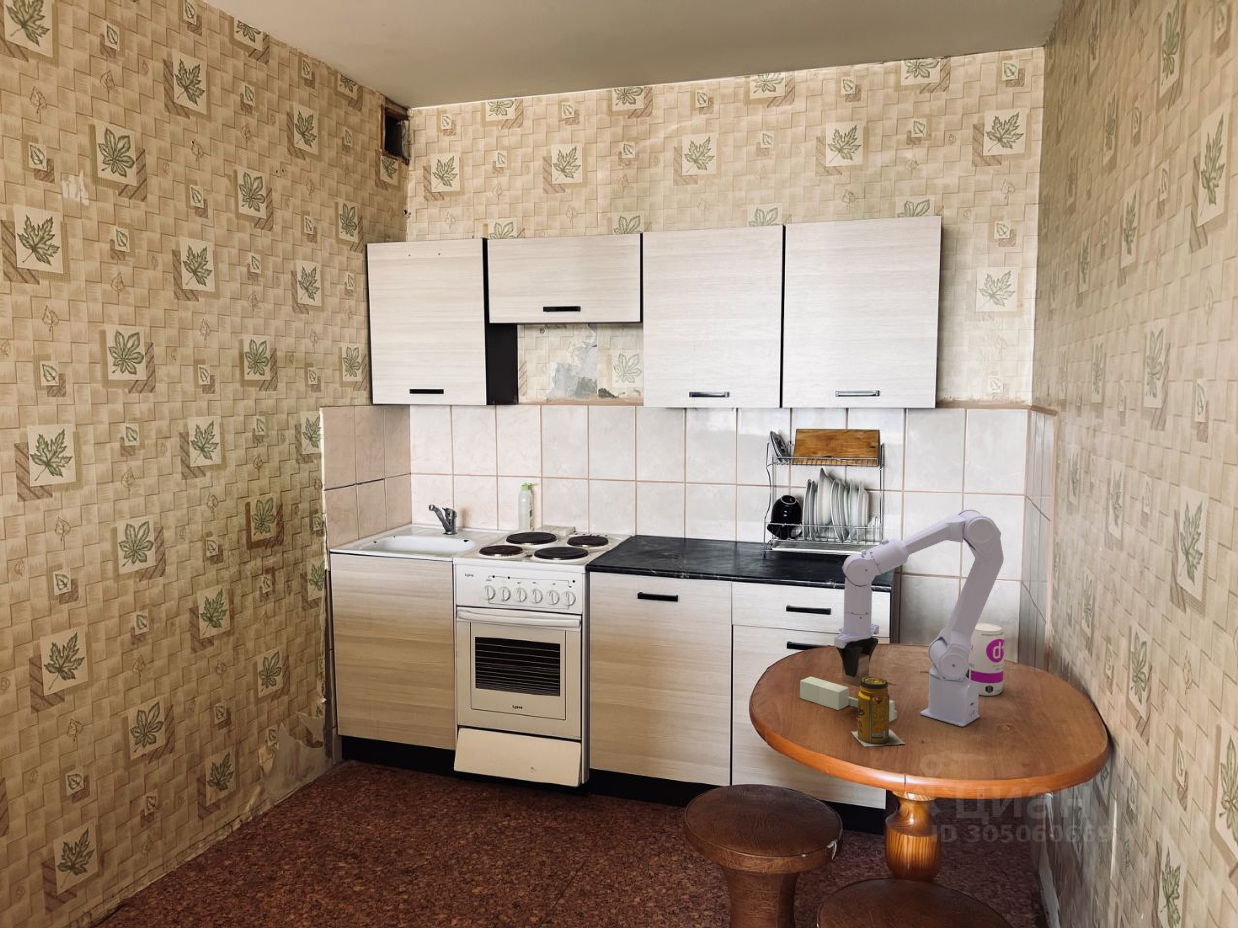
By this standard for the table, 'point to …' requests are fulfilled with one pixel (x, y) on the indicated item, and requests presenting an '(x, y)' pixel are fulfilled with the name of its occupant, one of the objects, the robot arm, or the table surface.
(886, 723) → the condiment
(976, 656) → the supplement can
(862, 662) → the walnut key block
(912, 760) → the table surface
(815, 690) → the sage bar
